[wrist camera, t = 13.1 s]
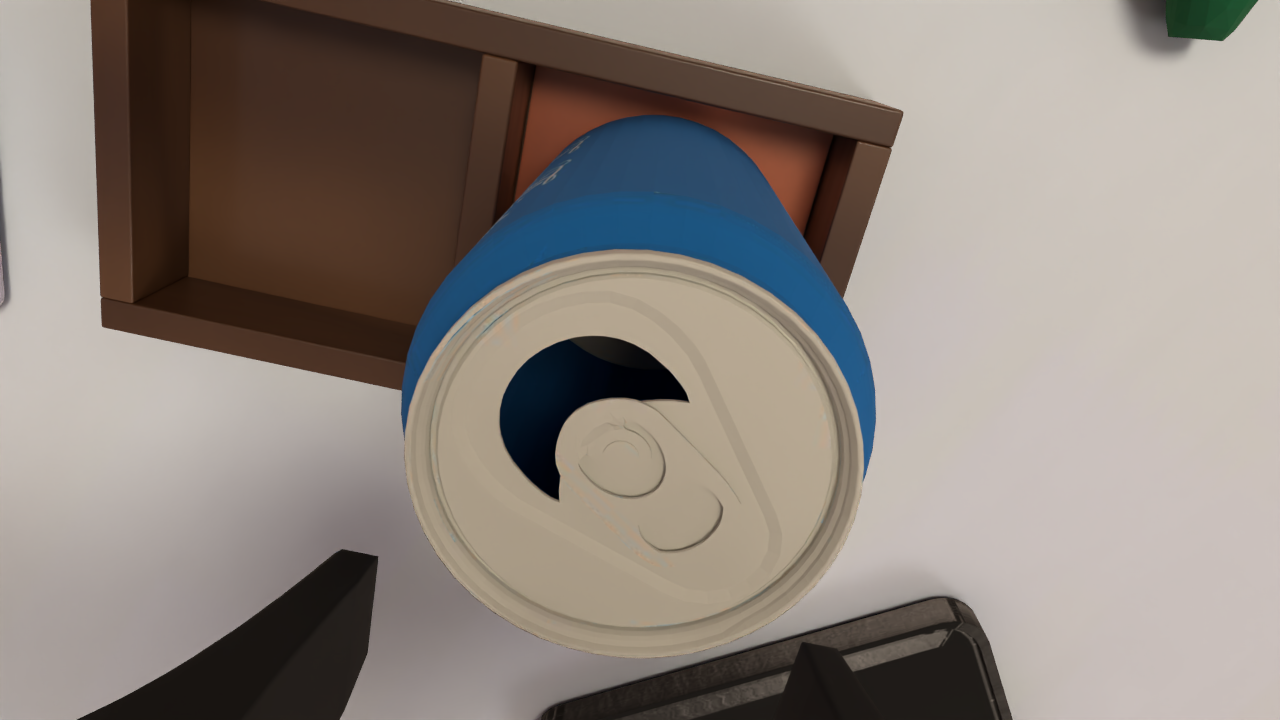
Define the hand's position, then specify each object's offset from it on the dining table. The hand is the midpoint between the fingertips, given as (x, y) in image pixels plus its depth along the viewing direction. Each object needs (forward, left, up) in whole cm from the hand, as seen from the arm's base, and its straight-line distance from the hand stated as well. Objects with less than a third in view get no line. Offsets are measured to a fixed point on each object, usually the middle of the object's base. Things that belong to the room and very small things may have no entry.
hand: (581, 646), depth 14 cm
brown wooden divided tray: (-4, +5, -10) cm, 12 cm away
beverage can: (0, +5, -10) cm, 11 cm away
